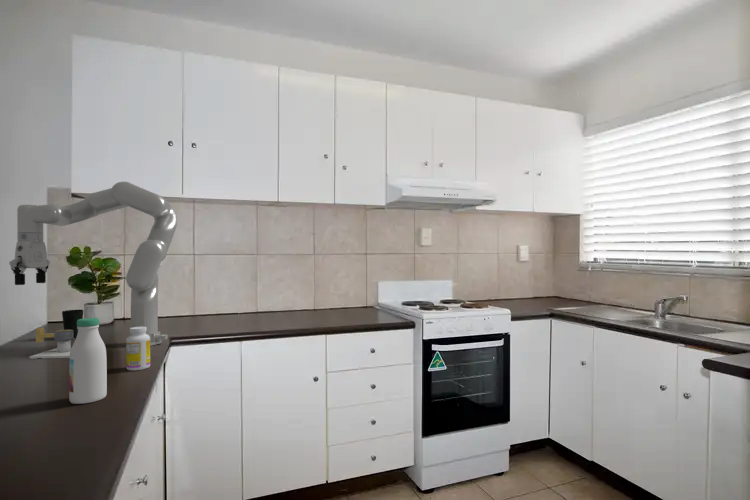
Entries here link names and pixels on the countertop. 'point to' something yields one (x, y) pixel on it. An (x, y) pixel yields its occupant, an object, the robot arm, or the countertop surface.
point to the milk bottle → (87, 364)
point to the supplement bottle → (138, 349)
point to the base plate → (56, 351)
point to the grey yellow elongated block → (54, 335)
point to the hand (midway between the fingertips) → (30, 283)
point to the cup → (72, 320)
